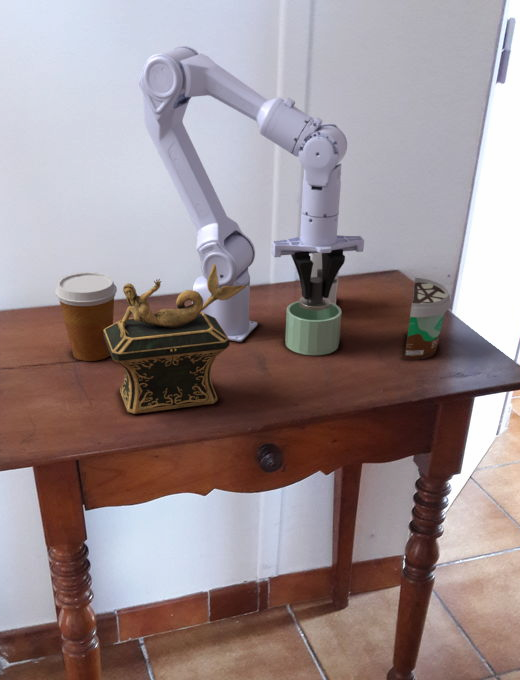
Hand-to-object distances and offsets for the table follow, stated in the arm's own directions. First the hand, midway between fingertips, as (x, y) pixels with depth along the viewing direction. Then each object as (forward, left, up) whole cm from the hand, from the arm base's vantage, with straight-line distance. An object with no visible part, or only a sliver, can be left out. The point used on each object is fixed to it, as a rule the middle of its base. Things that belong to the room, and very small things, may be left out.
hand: (314, 296), depth 139 cm
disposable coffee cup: (-32, -18, -8) cm, 37 cm away
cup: (0, 0, -8) cm, 8 cm away
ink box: (-3, +15, -8) cm, 18 cm away
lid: (0, 0, -1) cm, 1 cm away
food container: (+18, +5, -8) cm, 21 cm away
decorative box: (-13, -25, -8) cm, 30 cm away
